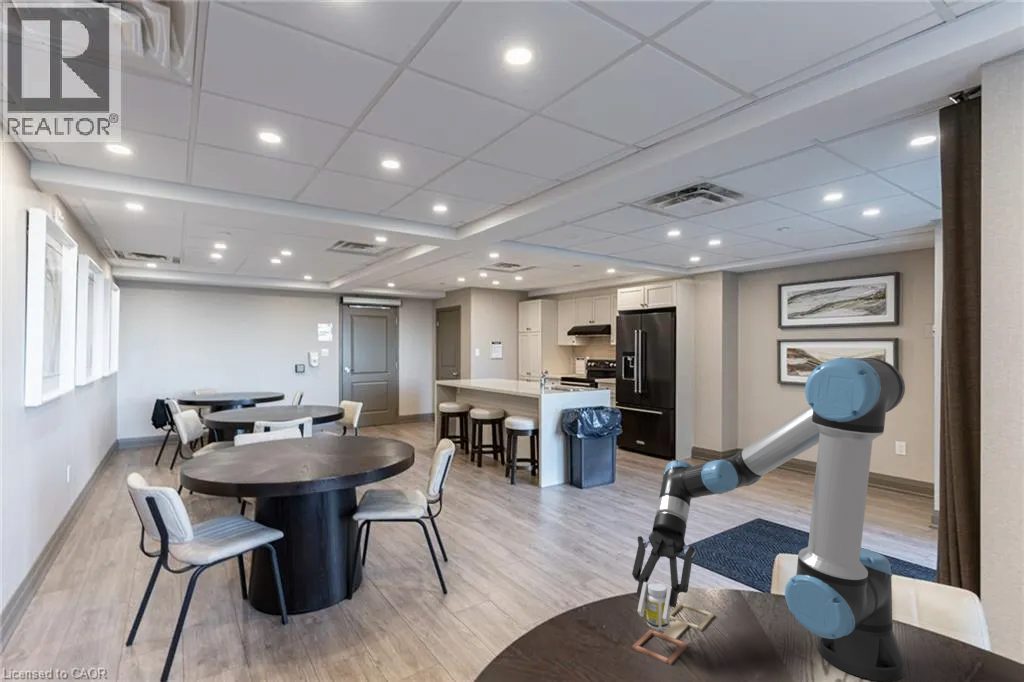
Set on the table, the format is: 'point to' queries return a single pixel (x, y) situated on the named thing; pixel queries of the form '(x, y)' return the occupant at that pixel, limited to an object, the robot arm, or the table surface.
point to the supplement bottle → (656, 605)
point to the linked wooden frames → (673, 633)
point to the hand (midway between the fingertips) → (652, 617)
